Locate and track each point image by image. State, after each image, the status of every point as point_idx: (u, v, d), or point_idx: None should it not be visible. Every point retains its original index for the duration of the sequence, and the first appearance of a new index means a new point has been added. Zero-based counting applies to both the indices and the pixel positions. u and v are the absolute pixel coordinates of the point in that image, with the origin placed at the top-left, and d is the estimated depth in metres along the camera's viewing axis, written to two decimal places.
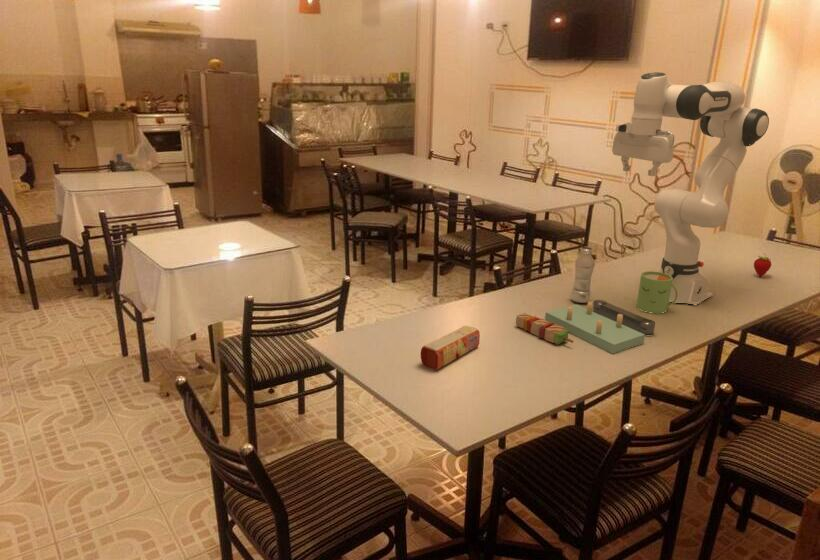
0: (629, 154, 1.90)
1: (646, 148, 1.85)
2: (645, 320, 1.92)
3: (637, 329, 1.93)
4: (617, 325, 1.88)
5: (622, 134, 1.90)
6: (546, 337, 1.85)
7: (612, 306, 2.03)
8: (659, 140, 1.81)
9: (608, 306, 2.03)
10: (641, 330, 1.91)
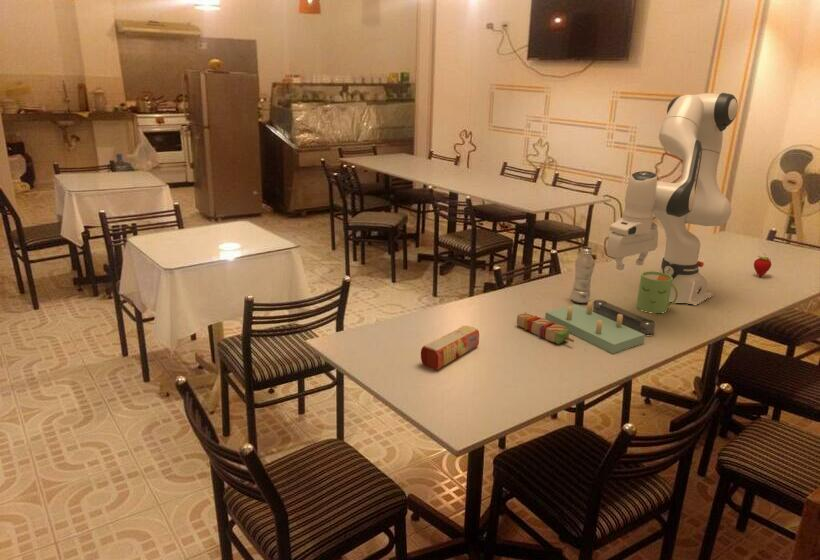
0: (631, 252, 1.88)
1: (643, 242, 1.91)
2: (645, 320, 1.92)
3: (637, 329, 1.93)
4: (617, 325, 1.88)
5: (629, 236, 1.84)
6: (547, 336, 1.85)
7: (612, 306, 2.03)
8: (654, 232, 1.92)
9: (608, 306, 2.03)
10: (641, 330, 1.91)
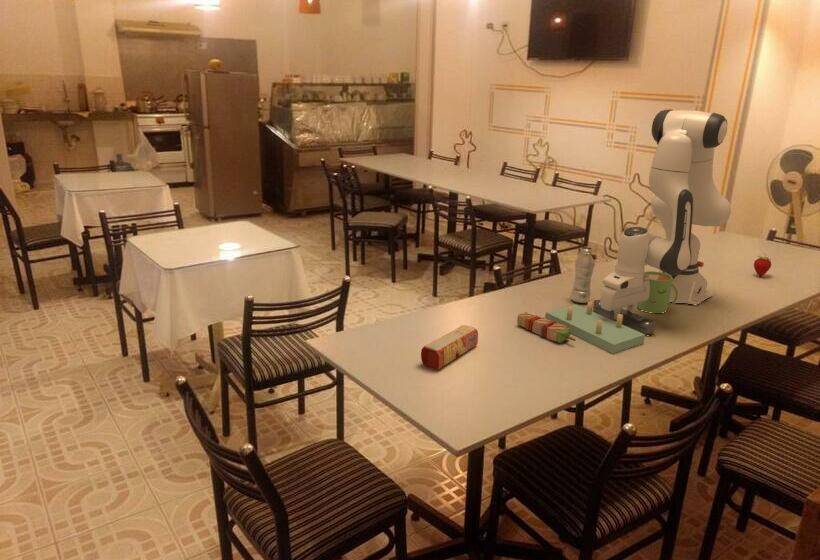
0: (623, 304, 1.94)
1: (636, 294, 1.96)
2: (645, 320, 1.92)
3: (637, 329, 1.93)
4: (617, 325, 1.88)
5: (622, 290, 1.90)
6: (549, 336, 1.85)
7: None
8: (646, 283, 1.98)
9: None
10: (641, 330, 1.91)
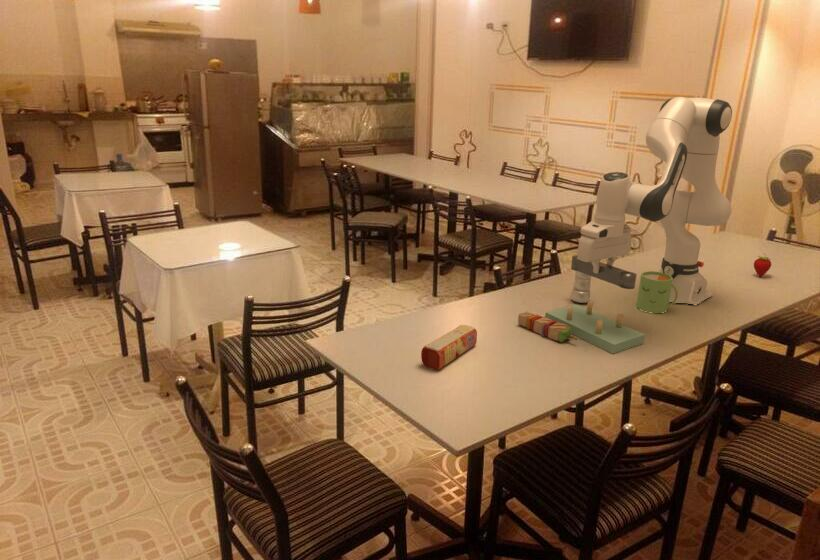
0: (602, 256, 1.81)
1: (616, 246, 1.83)
2: (626, 272, 1.79)
3: (617, 282, 1.79)
4: (617, 325, 1.88)
5: (600, 239, 1.77)
6: (550, 335, 1.86)
7: None
8: (627, 235, 1.85)
9: None
10: (621, 282, 1.78)
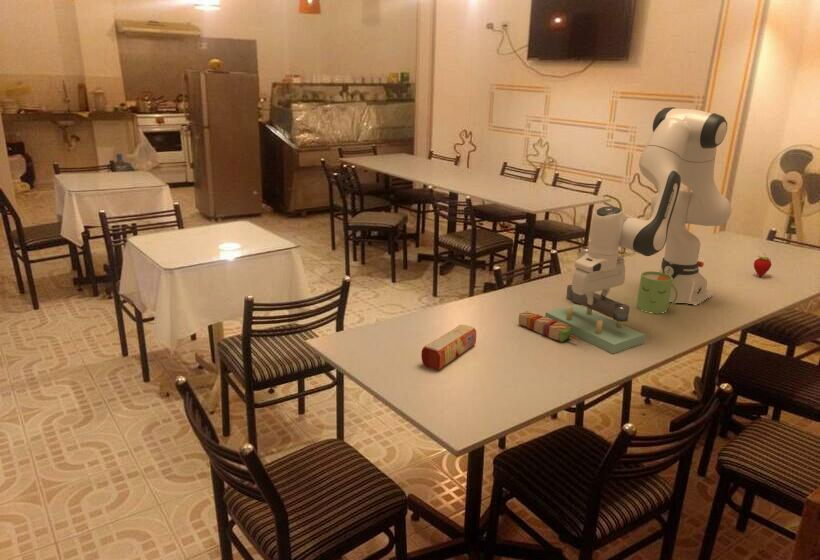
0: (596, 288, 1.84)
1: (610, 278, 1.87)
2: (620, 305, 1.82)
3: (611, 314, 1.83)
4: (617, 325, 1.88)
5: (594, 273, 1.80)
6: (551, 334, 1.86)
7: None
8: (621, 267, 1.88)
9: None
10: (615, 315, 1.81)
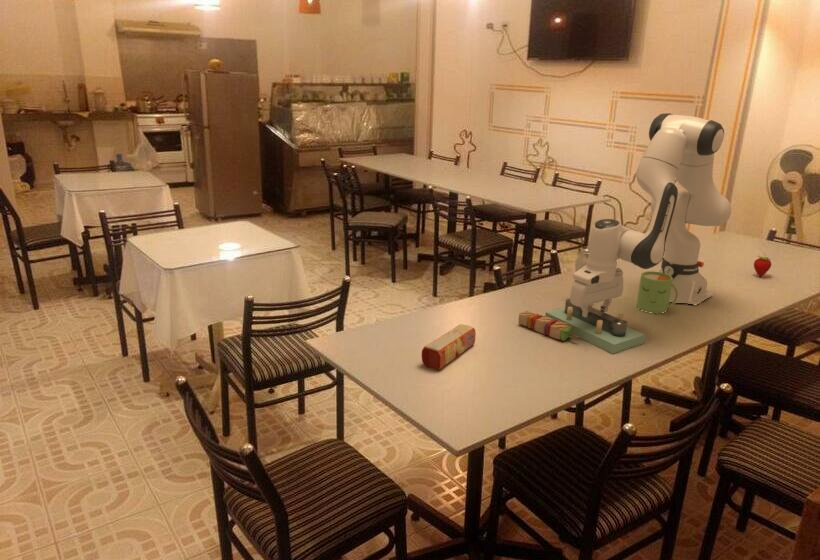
0: (595, 300, 1.86)
1: (608, 289, 1.88)
2: (617, 320, 1.84)
3: (609, 329, 1.85)
4: None
5: (592, 285, 1.82)
6: (552, 334, 1.87)
7: None
8: (619, 278, 1.89)
9: None
10: (613, 330, 1.83)
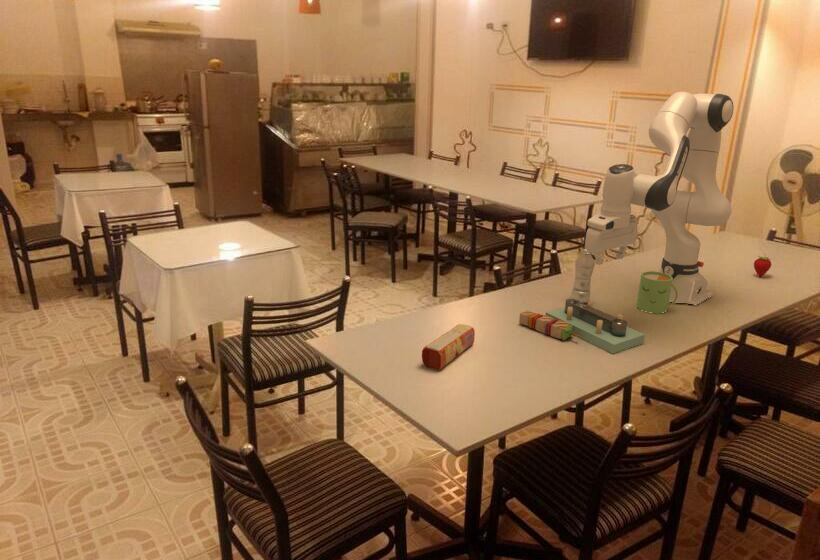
0: (609, 247, 1.86)
1: (622, 236, 1.88)
2: (617, 320, 1.84)
3: (609, 329, 1.85)
4: None
5: (607, 231, 1.82)
6: (553, 333, 1.87)
7: (584, 305, 1.94)
8: (633, 225, 1.89)
9: (580, 305, 1.94)
10: (613, 330, 1.83)
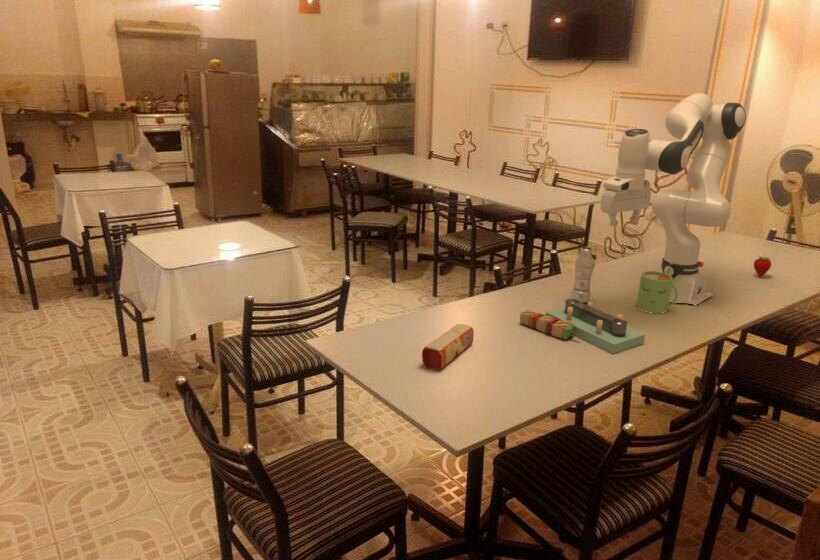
0: (624, 209, 1.93)
1: (636, 199, 1.95)
2: (617, 320, 1.84)
3: (609, 329, 1.85)
4: None
5: (622, 192, 1.89)
6: (554, 332, 1.88)
7: (584, 305, 1.94)
8: (647, 189, 1.96)
9: (580, 305, 1.94)
10: (613, 330, 1.83)
